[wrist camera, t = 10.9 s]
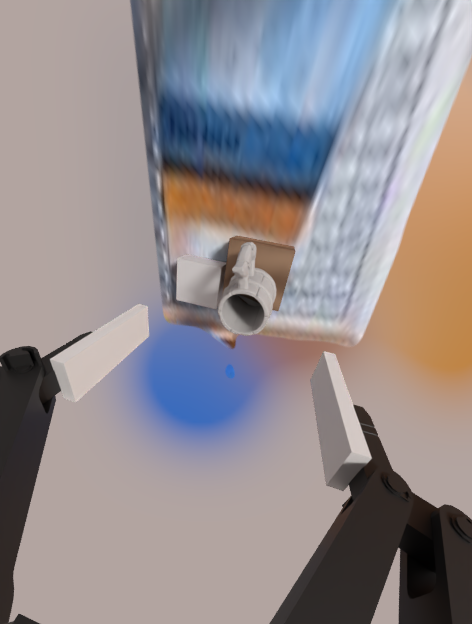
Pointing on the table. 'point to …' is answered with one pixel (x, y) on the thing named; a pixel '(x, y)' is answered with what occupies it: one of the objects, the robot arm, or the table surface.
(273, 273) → the walnut block
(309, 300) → the table surface
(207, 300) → the grey block
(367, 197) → the table surface
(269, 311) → the mug
